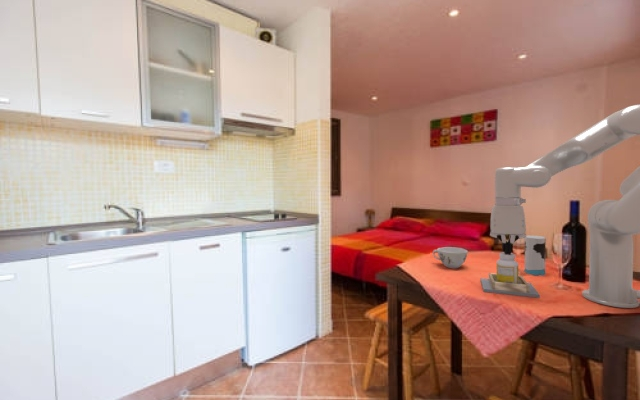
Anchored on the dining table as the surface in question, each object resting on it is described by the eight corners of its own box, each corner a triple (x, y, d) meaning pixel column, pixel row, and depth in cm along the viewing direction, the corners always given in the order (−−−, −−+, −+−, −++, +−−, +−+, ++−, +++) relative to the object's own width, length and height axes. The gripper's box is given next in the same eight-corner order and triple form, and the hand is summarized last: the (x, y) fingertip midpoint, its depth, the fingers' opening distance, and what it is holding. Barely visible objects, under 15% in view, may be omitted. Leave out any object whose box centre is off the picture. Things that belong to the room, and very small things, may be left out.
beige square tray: (522, 282, 104) (522, 275, 104) (529, 293, 95) (529, 285, 95) (488, 279, 109) (488, 273, 109) (492, 289, 99) (492, 282, 99)
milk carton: (549, 275, 114) (549, 238, 113) (532, 275, 114) (533, 238, 113) (536, 270, 121) (536, 235, 120) (520, 270, 121) (521, 235, 120)
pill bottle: (511, 282, 105) (511, 251, 104) (522, 288, 98) (522, 255, 98) (493, 282, 105) (492, 251, 105) (503, 289, 99) (502, 256, 98)
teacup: (471, 265, 130) (471, 248, 129) (462, 272, 121) (462, 254, 120) (438, 260, 140) (438, 244, 140) (427, 266, 131) (427, 249, 131)
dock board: (530, 285, 104) (530, 282, 104) (539, 297, 93) (539, 294, 93) (480, 280, 111) (480, 278, 111) (483, 291, 100) (483, 289, 100)
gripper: (530, 201, 100) (530, 252, 101) (482, 201, 107) (482, 250, 108) (536, 203, 94) (536, 258, 95) (484, 203, 100) (484, 254, 101)
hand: (507, 253), depth 101 cm, fingers closed
